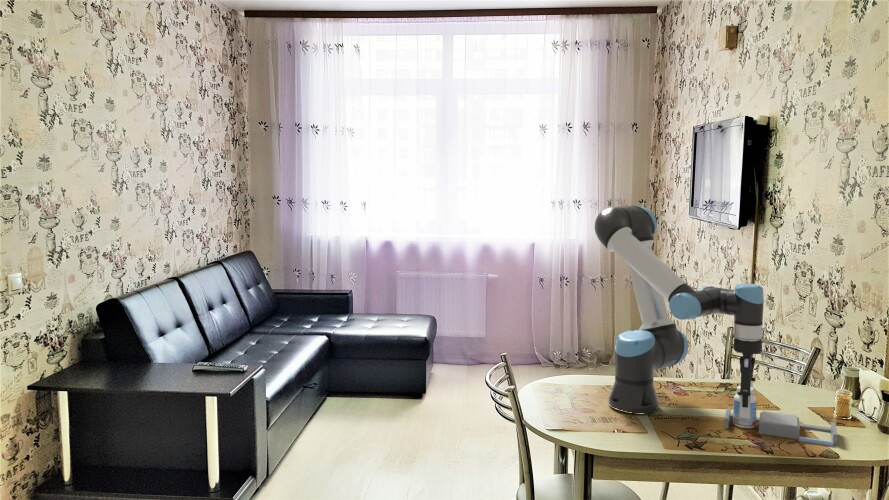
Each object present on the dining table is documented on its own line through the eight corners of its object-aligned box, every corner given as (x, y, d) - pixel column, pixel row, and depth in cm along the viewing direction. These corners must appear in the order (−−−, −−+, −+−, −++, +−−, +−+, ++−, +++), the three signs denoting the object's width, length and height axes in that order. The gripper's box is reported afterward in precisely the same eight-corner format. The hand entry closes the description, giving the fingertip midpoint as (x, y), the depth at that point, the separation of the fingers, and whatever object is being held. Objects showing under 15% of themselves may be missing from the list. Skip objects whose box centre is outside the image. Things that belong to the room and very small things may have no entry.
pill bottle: (758, 429, 188) (759, 391, 187) (735, 428, 189) (736, 390, 188) (752, 422, 194) (754, 385, 192) (730, 420, 195) (732, 384, 194)
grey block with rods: (723, 429, 188) (724, 417, 188) (727, 414, 200) (727, 403, 199) (837, 446, 176) (838, 433, 175) (834, 430, 187) (834, 418, 187)
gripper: (761, 349, 176) (758, 426, 178) (763, 330, 198) (761, 399, 200) (730, 346, 179) (728, 422, 181) (736, 328, 201) (734, 396, 203)
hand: (746, 410), depth 191 cm, fingers open, 13 cm apart
